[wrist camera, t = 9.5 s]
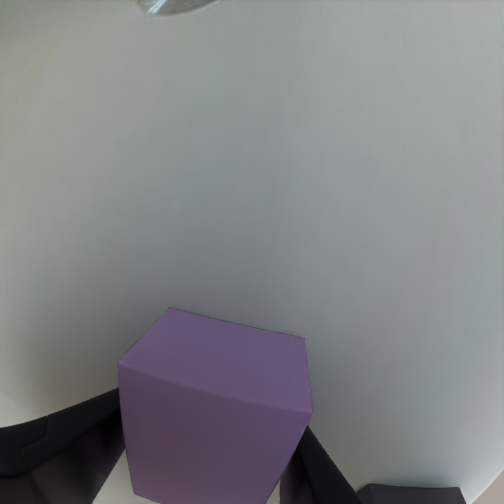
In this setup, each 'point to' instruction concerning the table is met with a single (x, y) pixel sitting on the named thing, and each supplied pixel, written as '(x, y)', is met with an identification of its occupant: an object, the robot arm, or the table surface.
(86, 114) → the table surface
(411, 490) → the button base
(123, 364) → the soap bar
